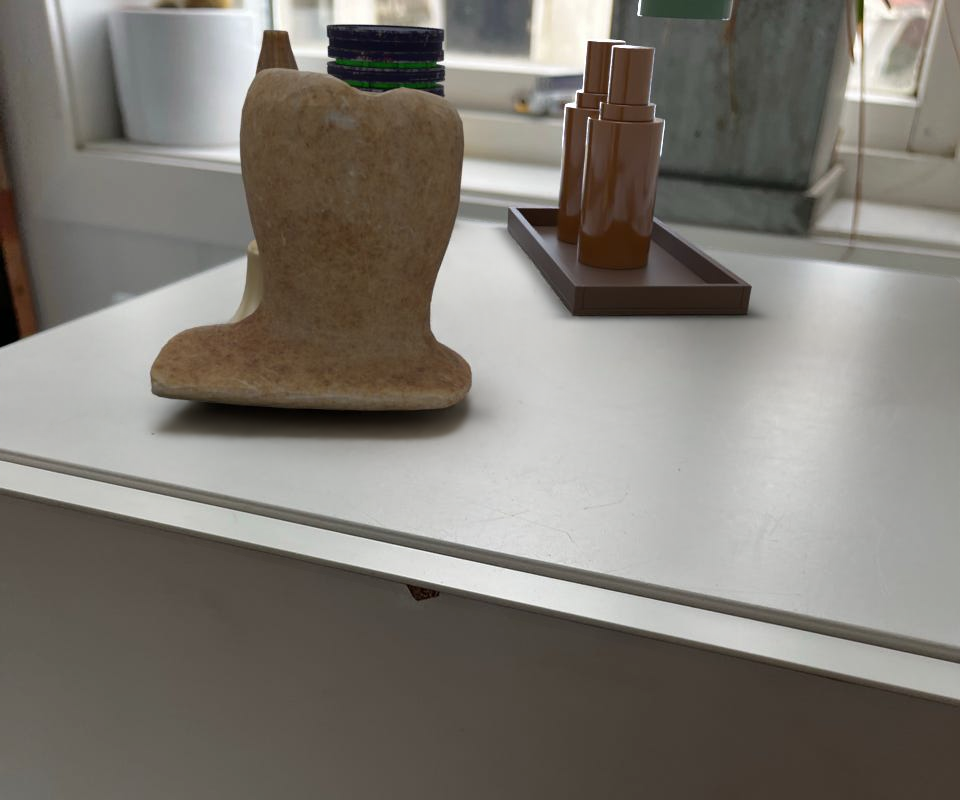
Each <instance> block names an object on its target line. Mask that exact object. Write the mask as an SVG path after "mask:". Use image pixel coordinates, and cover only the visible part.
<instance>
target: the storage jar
mask: <svg viewBox="0 0 960 800" xmlns="http://www.w3.org/2000/svg"><path fill="white" fill-rule="evenodd" d="M326 37H327V38H328V46H326V47H327V48H326V49H327V57H328V58H330V59H334V60H330V61H326V66H327V67H326V74H330V75H332V76H334V77H336V78H338V79H340V80H342V81H344V82H346V83H347V84H348V85H350V86H351V87H354V88H356V89H359V90H361V91H366V92H375V93H383V92H386V91H390V90H393V89H398V88H401V87H404V88H409V89H416V90H421V91H425V92H429V93H432V94H435V95H438V96H441V97H443V98H445V97H446V94H445V85H444V84H441V83H443V82H445V81H446V66H445V65H443V64H440V62H444V61H445V50H444V49H443V47H444V46H443V45H444V44H443V43H444V41H445V29H444V28H437V27H429V26H427V27H426V26H412V25H395V24H393V25H392V24H359V23H358V24H357V23H356V24H355V23H353V24H352V23H348V24H347V23H342V24H341V23H339V24H338V23H337V24H327V25H326ZM438 63H439V64H438Z"/></svg>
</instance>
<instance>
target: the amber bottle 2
mask: <svg viewBox="0 0 960 800" xmlns="http://www.w3.org/2000/svg"><path fill="white" fill-rule="evenodd" d="M655 53H656V48H655V47H651V46H643V45H642V46H641V45H625V46H613V47H612V55H611V66H610V77H609V88H608V99H607V100H605V101H601V102H600V111H599V114H597V115H591V116H589V117H588V123H587V136H586V148H585V160H584V172H583V184H582V196H581V208H580V221H579V233H578V245H577V257H576V258H577V261H578V262H580V263H582V264H585V265H588V266H592V267H597V268H604V269H619V270H622V269H636V268H641V267H644V266H646V265H647V264H648V258H649V250H650V242H651V233H652V225H653V217H655V209H656V208H655V207H656V201H657V190H658V183H659V175H660V174H659V173H660V165H661V157H662V148H663V142H664V141H663V140H664V132H665V124H666V120H665V119H663V118H660V117H656V116H655V114H656V106H657V104H655V103H653V102H650V96H651V87H652V78H653V70H654V61H655Z"/></svg>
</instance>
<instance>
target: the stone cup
mask: <svg viewBox="0 0 960 800" xmlns="http://www.w3.org/2000/svg"><path fill="white" fill-rule="evenodd" d="M298 70H299V69H298ZM298 70H295V69H284V68H271V69H265V70H262V71H261V72H259V73H258V74H257V75H256V76H255V75H254V77H253V79H252V81H251V83H250V85H249V87H248V89H247V92H246V95H245V98H244V101H243V104H242V109H241V113H240V114H241V115H240V116H241V117H240V125H239V161H240V171H241V179H242V183H243V188H244V193H245V198H246V205H247V209H248V216H249V219H250V225H251V227H252V231H253V235H254V238H255V239H256V243H257V247H258V252H259V256H260V261H261V266H262V275H263V294H262V299H261V301H260V304H259V306H258V307H257V309H256V310H255V311H254V312H253V313H252V314H251V315H249V316H248V317H246V318H244V319H243V320H241V321H239V322H235V323H228V322H227V323H228V324H227V323H216V324H210V325H207V324H206V325H200V326H195V327H194V326H193V327H191V328H187V329H186V328H185V329H184V330H182V331H180V332H178V333H176V334H174V336H172V337H171V338H170V339H168V341H167V342H166V344H164V345H163V347H161V349H160V351H159V352H158V354H157V356H156V357H155V359H154V360H153V363H152V365H151V367H150V371H149V376H150V386H151V388H150V389H151V390H150V391H151V394H152V395H154V396H156V397H158V398H163V399H169V400H178V401H190V402H198V403H199V402H200V403H212V404H223V405H224V404H225V405H233V406H235V405H237V406H250V407H266V408H280V409H296V410H297V409H299V410H303V409H311V410H331V411H333V410H334V411H369V412H371V411H372V412H373V411H375V412H376V411H422V410H439V409H445V408H449V407H451V406H454V405H456V404H458V403H460V402H461V401H462V400H463V399H464V398H465V397H466V395H468V393H469V392H470V390H471V389H472V385H473V372H472V369H471V366H470V364H469V363H468V362H467V360H466V359H465V358H464V357H463V356H462V355H461V354H460V353H458V352H457V351H455V350H454V349H452V348H450V347H449V346H448V345H446V344H444V343H442V342H440V341H438V340H437V338H436V336H435V334H434V333H433V331H432V327H431V326H432V325H431V309H432V308H431V306H432V305H431V304H432V301H433V300H432V299H433V296H434V295H433V294H434V288H435V285H436V282H437V279H438V275H439V272H440V269H441V267H442V264H443V262H444V259H445V256H446V253H447V250H448V247H449V244H450V241H451V238H452V236H453V232H454V228H455V224H456V221H457V216H458V211H459V206H460V202H461V188H462V179H463V178H462V177H463V166H464V155H465V154H464V153H465V134H464V133H465V132H464V123H463V120H462V117H461V116H460V114H459V112H458V109H457V108H456V105H455V104H454V103H452V102H451V101H449V100H448V99H446V98H445V97H444V98H443V97H441V96H438V95H435V94H432V93H429V92H425V91H421V90H416V89H409V88H404V87H401V88H398V89H393V90H390V91H386V92H383V93H375V92H366V91H361V90H359V89H356V88H354V87H351V86H350V85H348V84H347V83H346V82H344V81H342V80H340V79H338V78H336V77H334V76H332V75H330V74H328V73H323V72H316V71H309V70H299V71H298ZM255 239H254V240H255Z"/></svg>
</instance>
